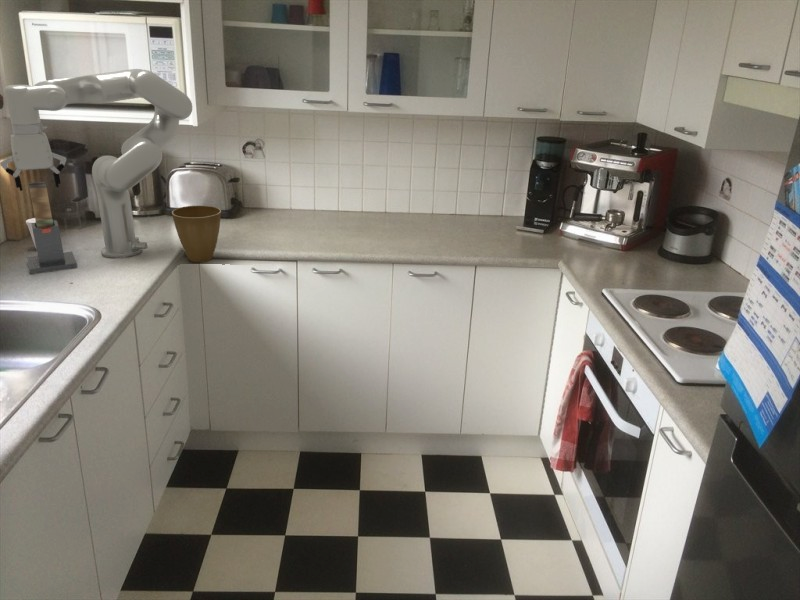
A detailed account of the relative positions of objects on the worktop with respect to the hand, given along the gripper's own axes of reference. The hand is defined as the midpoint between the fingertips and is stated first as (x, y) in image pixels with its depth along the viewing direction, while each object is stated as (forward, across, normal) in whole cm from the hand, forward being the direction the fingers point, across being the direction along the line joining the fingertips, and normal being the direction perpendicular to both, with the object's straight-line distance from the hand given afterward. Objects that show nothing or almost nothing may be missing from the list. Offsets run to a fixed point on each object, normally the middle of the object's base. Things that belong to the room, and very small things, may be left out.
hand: (39, 188), depth 196 cm
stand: (+24, +1, 0) cm, 24 cm away
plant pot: (+25, -42, +15) cm, 51 cm away
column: (+17, +1, 0) cm, 17 cm away
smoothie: (+24, +2, -20) cm, 31 cm away
